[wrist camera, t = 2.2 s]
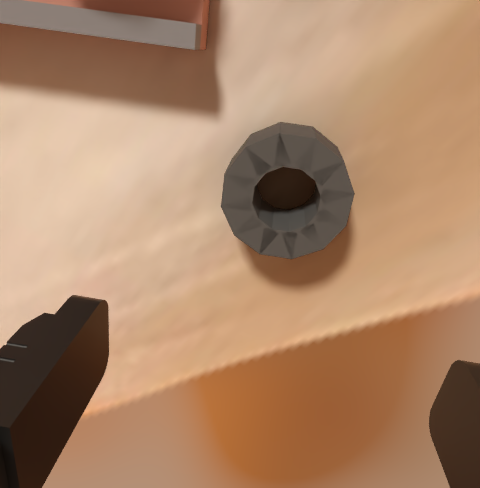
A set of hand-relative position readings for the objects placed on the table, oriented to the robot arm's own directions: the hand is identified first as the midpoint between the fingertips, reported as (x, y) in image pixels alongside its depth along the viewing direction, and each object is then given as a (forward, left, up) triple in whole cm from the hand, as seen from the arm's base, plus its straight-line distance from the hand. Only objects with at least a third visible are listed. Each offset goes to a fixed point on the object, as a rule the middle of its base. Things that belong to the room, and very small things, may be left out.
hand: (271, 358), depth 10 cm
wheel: (0, 0, -14) cm, 14 cm away
